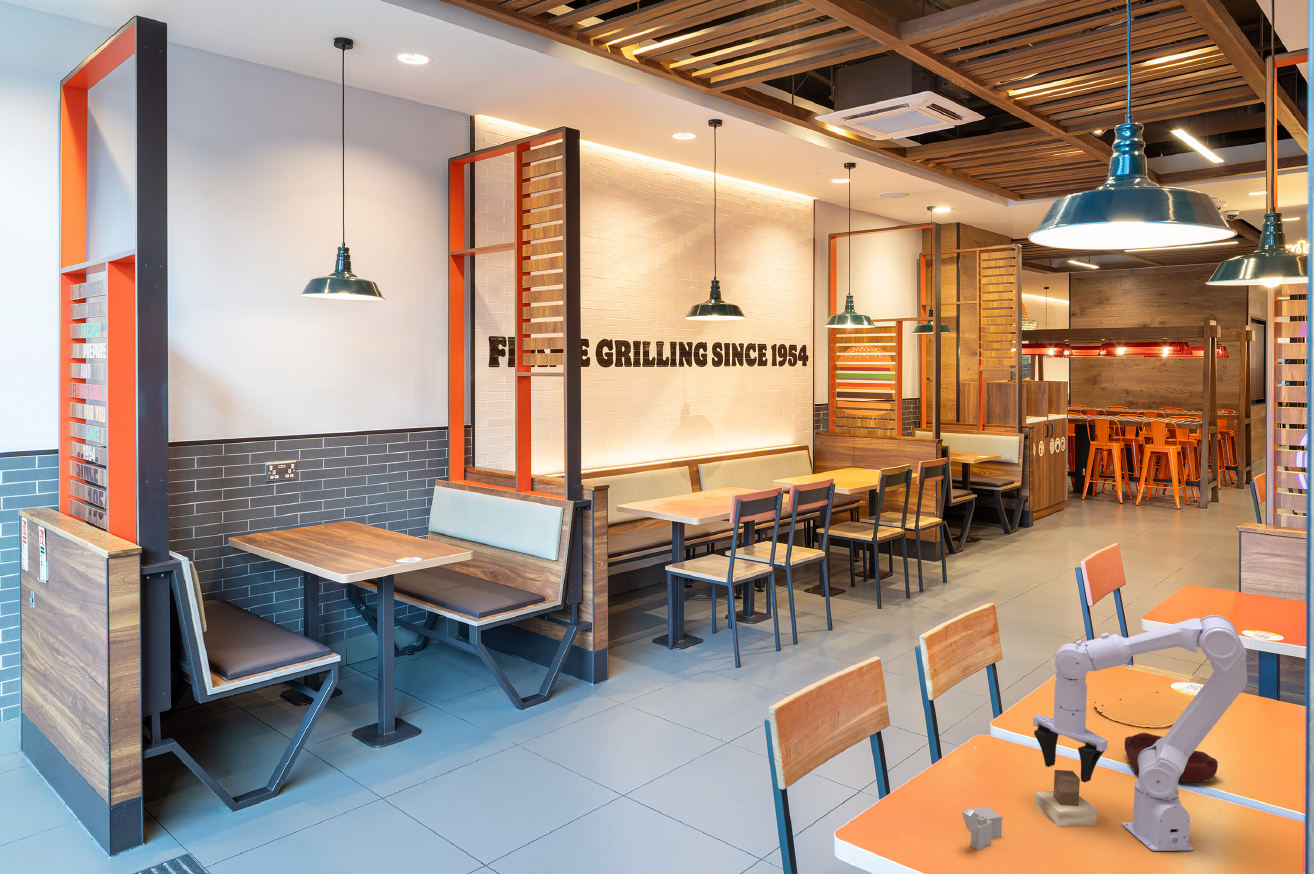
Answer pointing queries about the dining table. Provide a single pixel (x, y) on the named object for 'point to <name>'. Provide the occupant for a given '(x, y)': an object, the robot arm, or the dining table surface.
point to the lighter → (978, 829)
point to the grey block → (991, 819)
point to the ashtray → (1195, 769)
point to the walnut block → (1066, 787)
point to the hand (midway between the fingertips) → (1067, 772)
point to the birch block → (1065, 811)
